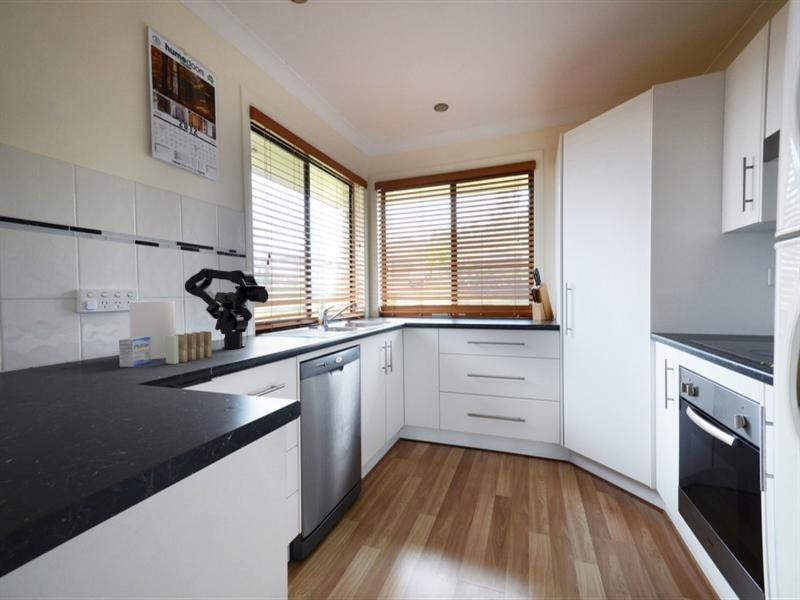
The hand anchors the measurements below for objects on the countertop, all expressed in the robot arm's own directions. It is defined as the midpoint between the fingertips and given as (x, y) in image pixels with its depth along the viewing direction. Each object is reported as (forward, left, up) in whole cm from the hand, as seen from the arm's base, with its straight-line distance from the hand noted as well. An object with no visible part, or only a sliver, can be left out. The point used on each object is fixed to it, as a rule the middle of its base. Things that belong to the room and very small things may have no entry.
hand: (216, 329), depth 133 cm
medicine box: (+23, -9, -9) cm, 27 cm away
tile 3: (+11, 0, -9) cm, 14 cm away
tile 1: (+5, 0, -9) cm, 10 cm away
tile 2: (+8, 0, -9) cm, 12 cm away
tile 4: (+14, 0, -9) cm, 17 cm away
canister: (+11, -18, -9) cm, 23 cm away
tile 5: (+17, 0, -9) cm, 20 cm away
